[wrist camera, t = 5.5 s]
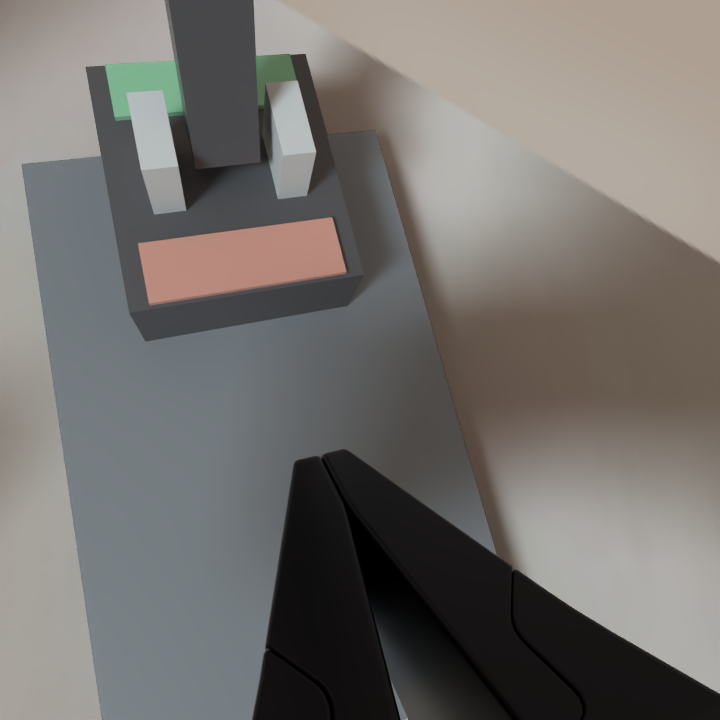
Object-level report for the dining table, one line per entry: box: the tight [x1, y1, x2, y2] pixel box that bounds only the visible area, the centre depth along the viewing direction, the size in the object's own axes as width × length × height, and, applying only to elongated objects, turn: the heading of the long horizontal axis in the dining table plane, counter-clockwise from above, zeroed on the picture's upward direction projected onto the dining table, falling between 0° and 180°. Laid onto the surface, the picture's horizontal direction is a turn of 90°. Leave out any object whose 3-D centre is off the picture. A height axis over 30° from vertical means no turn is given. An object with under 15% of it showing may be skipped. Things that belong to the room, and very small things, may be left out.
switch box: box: [22, 54, 497, 720], centre depth 15 cm, size 18×11×6 cm, turn 15°
